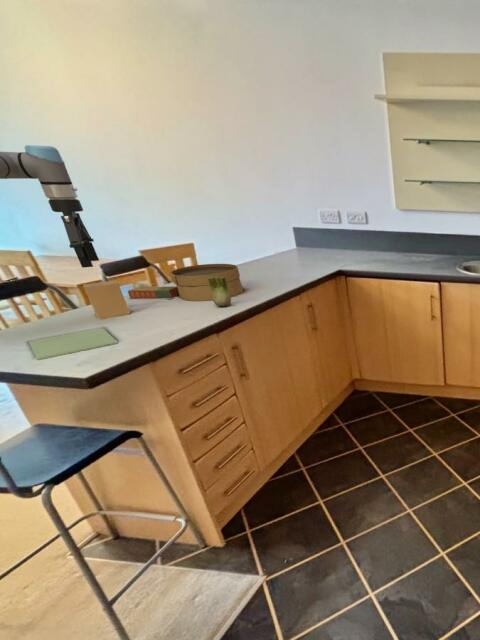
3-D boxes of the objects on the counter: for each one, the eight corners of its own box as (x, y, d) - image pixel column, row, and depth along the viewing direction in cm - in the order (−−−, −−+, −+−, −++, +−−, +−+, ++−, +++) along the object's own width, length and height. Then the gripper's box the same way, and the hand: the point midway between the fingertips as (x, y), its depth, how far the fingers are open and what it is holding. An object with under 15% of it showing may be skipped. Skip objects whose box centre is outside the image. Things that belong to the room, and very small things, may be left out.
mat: (29, 343, 131) (28, 341, 131) (104, 329, 144) (103, 328, 144) (37, 360, 120) (36, 358, 120) (118, 343, 133) (117, 341, 132)
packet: (96, 316, 157) (82, 284, 152) (126, 310, 163) (114, 280, 158) (99, 319, 154) (85, 287, 148) (130, 314, 160) (118, 282, 155)
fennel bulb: (234, 305, 173) (226, 276, 168) (226, 308, 169) (217, 278, 164) (221, 304, 174) (213, 275, 169) (212, 307, 170) (203, 278, 164)
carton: (143, 295, 184) (139, 285, 182) (183, 295, 186) (179, 285, 184) (130, 300, 176) (126, 290, 175) (171, 299, 179) (168, 290, 177)
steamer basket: (174, 304, 173) (165, 276, 168) (183, 290, 193) (174, 265, 187) (243, 297, 184) (236, 271, 179) (244, 285, 203) (238, 262, 198)
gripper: (71, 200, 131) (99, 268, 140) (85, 197, 149) (109, 257, 159) (37, 200, 127) (69, 271, 137) (56, 197, 145) (83, 259, 155)
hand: (91, 263), depth 148 cm, fingers open, 13 cm apart
